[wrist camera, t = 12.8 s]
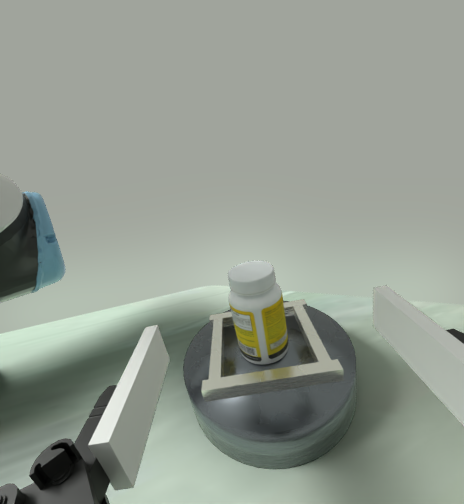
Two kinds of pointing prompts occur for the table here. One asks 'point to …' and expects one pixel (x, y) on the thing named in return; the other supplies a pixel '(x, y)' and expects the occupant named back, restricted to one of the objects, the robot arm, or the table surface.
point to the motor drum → (274, 390)
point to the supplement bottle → (258, 312)
